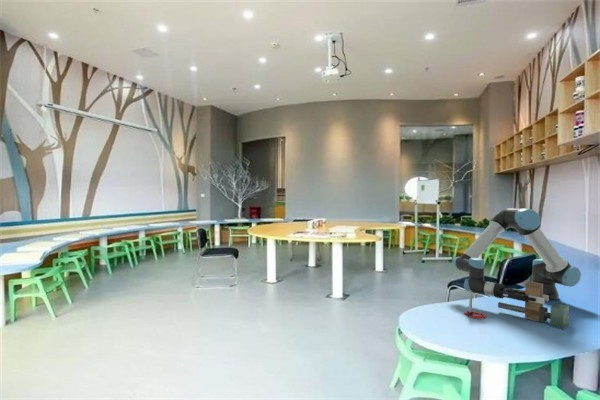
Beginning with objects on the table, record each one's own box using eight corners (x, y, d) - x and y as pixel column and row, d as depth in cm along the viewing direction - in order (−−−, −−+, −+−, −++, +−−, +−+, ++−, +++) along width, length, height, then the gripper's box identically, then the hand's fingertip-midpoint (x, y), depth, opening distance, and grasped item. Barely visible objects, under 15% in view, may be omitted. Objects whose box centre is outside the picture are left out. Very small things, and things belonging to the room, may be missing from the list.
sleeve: (528, 315, 176) (529, 281, 176) (542, 318, 171) (543, 283, 171) (524, 318, 172) (525, 283, 172) (539, 321, 168) (539, 285, 167)
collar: (542, 318, 171) (542, 306, 171) (547, 319, 170) (547, 307, 170) (539, 321, 168) (539, 309, 168) (543, 322, 166) (544, 310, 166)
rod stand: (502, 309, 187) (502, 292, 187) (568, 324, 165) (568, 305, 165) (495, 313, 181) (495, 296, 181) (563, 329, 159) (563, 310, 159)
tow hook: (476, 313, 182) (462, 314, 179) (477, 288, 182) (463, 289, 179) (489, 318, 174) (475, 319, 171) (491, 293, 174) (476, 293, 171)
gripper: (501, 293, 192) (551, 303, 174) (488, 300, 179) (540, 311, 162) (501, 280, 192) (551, 288, 174) (488, 285, 179) (540, 295, 162)
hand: (546, 299), depth 168 cm, fingers closed on sleeve, 6 cm apart
